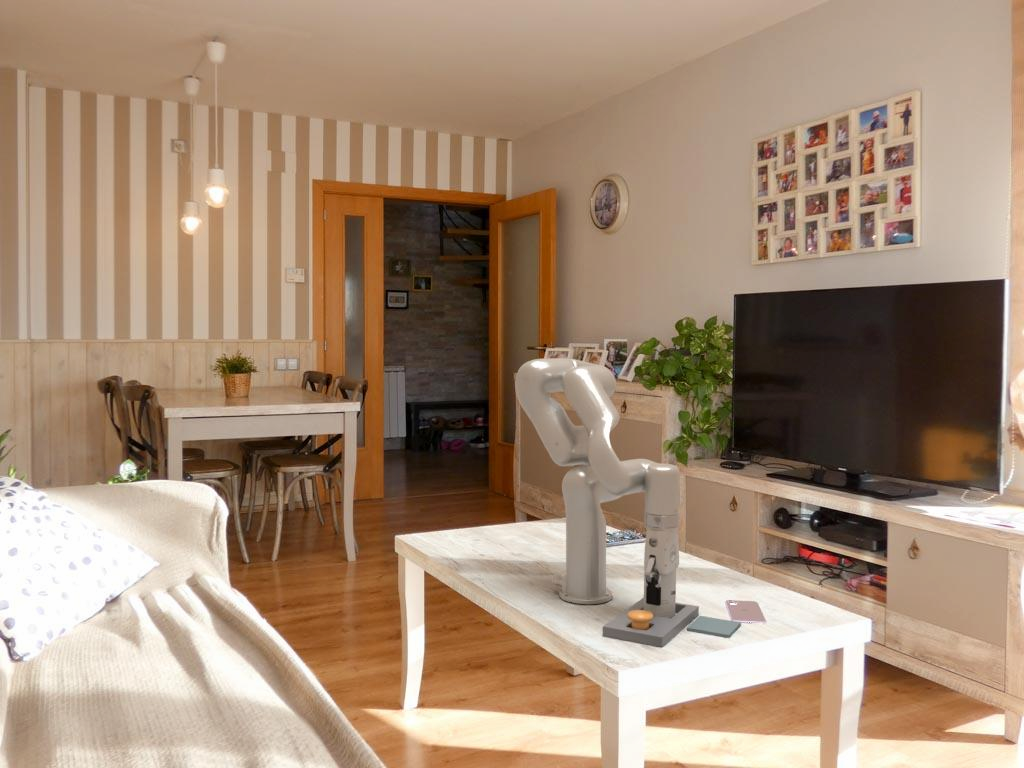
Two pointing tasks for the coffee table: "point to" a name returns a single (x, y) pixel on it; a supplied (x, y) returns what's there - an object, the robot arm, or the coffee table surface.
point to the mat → (714, 626)
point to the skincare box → (663, 596)
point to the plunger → (640, 619)
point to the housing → (651, 625)
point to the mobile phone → (745, 611)
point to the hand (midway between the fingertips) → (659, 599)
